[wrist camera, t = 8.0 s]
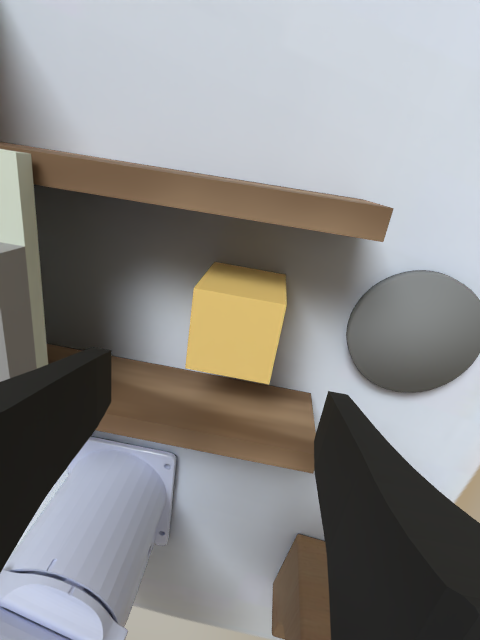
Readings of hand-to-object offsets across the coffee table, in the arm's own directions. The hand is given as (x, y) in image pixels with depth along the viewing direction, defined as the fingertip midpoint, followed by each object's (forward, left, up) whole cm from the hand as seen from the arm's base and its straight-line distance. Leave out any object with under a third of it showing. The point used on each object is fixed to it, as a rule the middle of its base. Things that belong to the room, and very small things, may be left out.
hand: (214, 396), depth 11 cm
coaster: (0, -9, -9) cm, 13 cm away
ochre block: (0, 0, -10) cm, 10 cm away
